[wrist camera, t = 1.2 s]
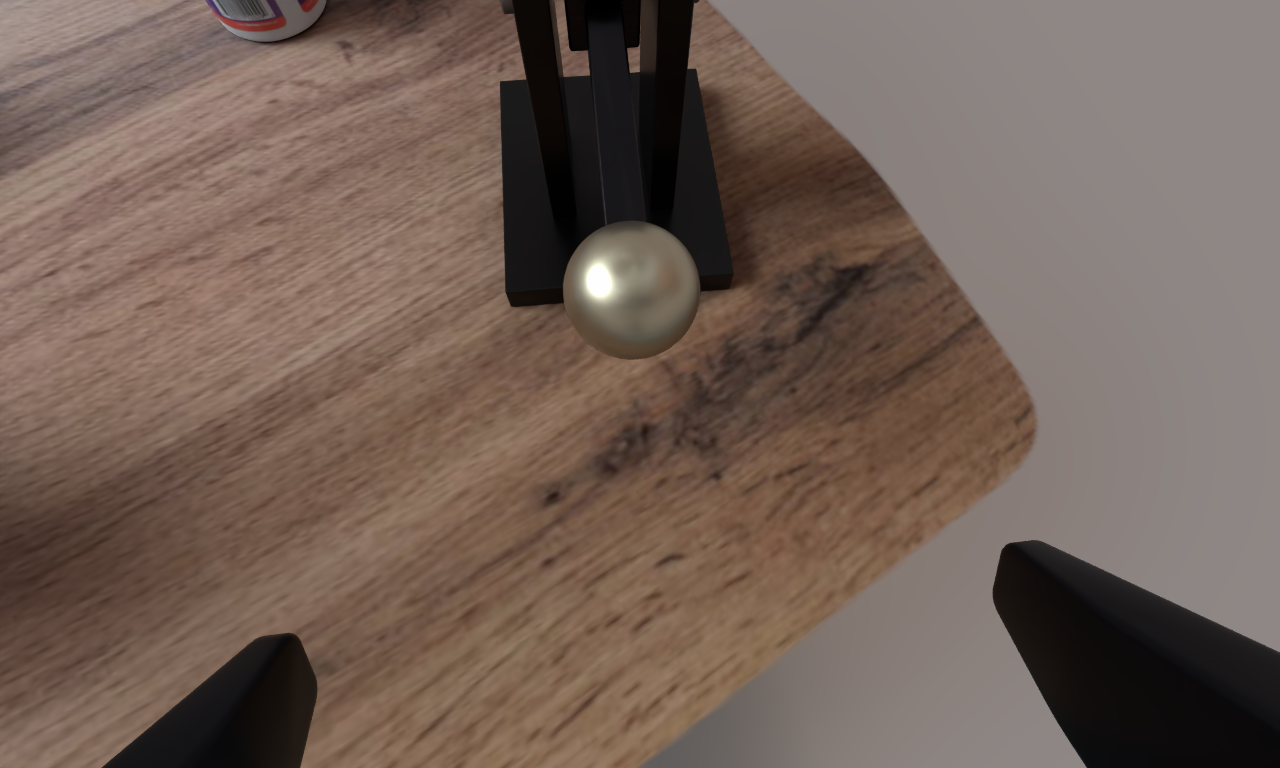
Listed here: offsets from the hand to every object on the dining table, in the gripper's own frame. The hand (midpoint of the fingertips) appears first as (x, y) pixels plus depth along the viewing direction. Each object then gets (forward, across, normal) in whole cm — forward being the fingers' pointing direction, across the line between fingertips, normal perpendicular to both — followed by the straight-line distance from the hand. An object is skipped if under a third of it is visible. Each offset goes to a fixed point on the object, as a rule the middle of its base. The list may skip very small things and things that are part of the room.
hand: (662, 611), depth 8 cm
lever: (+14, -1, -4) cm, 15 cm away
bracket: (+23, -1, -2) cm, 23 cm away
